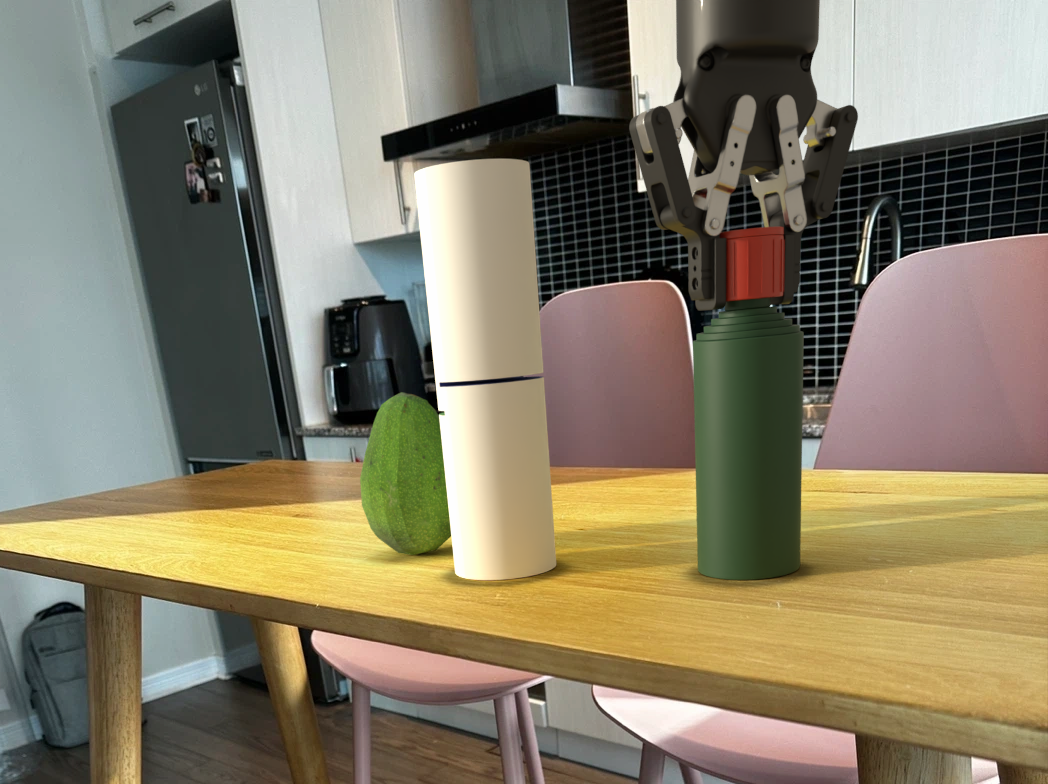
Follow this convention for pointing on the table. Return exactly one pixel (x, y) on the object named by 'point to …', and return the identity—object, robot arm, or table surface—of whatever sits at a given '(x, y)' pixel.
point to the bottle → (748, 442)
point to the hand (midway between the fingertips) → (744, 305)
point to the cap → (754, 263)
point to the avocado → (406, 477)
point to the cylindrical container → (488, 364)
